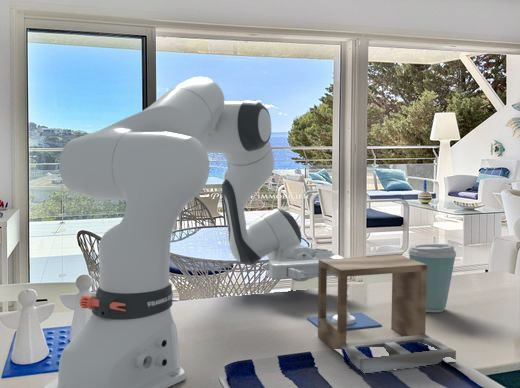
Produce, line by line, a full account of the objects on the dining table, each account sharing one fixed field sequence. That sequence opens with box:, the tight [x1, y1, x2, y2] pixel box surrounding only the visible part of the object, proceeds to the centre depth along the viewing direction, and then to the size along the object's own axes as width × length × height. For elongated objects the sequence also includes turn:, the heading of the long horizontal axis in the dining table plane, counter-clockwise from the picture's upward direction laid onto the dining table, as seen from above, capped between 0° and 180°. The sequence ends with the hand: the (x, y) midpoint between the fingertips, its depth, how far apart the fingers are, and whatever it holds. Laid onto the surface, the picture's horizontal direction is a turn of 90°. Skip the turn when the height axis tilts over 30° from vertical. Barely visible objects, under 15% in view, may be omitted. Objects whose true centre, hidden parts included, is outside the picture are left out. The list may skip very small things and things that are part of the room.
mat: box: [307, 312, 383, 331], centre depth 114 cm, size 9×13×1 cm
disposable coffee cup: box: [407, 243, 457, 313], centre depth 124 cm, size 11×11×15 cm
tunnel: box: [317, 254, 457, 375], centre depth 99 cm, size 19×17×15 cm
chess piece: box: [332, 277, 356, 325], centre depth 114 cm, size 5×5×10 cm
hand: (321, 274), depth 125 cm, fingers open, 8 cm apart
